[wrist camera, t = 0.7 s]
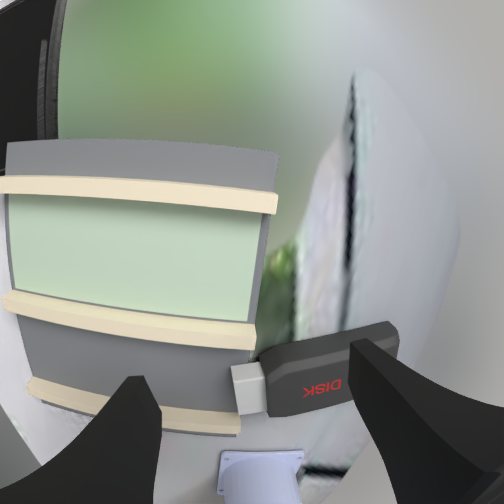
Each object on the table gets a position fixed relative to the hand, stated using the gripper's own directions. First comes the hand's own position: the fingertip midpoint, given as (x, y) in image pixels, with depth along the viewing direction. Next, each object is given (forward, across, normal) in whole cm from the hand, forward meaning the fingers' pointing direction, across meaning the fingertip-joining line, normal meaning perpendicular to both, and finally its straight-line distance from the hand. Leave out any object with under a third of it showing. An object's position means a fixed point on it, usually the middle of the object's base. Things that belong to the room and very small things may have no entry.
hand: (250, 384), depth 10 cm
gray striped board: (+10, +8, +1) cm, 13 cm away
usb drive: (+9, -4, +8) cm, 13 cm away
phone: (+11, +13, -17) cm, 24 cm away
